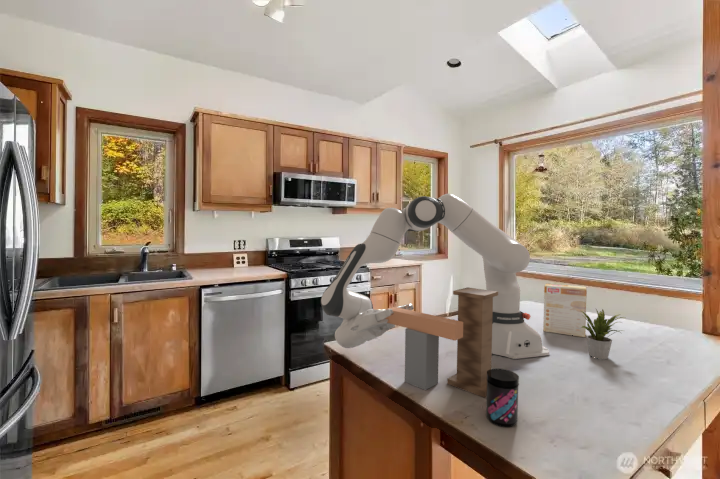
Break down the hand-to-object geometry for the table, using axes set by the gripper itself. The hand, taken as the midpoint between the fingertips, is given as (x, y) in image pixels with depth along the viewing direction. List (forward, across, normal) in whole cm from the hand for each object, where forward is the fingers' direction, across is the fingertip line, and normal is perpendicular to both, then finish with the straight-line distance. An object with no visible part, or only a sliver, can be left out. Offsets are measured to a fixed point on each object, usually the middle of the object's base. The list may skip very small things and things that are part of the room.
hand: (401, 308), depth 103 cm
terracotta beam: (+4, 0, +7) cm, 8 cm away
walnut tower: (+6, +9, +26) cm, 28 cm away
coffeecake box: (+8, +82, +28) cm, 87 cm away
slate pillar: (-4, 0, +20) cm, 21 cm away
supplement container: (+17, -3, +32) cm, 37 cm away
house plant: (+23, +59, +36) cm, 73 cm away
